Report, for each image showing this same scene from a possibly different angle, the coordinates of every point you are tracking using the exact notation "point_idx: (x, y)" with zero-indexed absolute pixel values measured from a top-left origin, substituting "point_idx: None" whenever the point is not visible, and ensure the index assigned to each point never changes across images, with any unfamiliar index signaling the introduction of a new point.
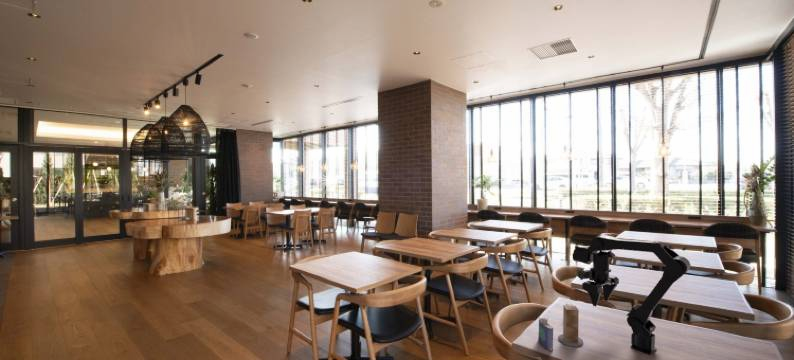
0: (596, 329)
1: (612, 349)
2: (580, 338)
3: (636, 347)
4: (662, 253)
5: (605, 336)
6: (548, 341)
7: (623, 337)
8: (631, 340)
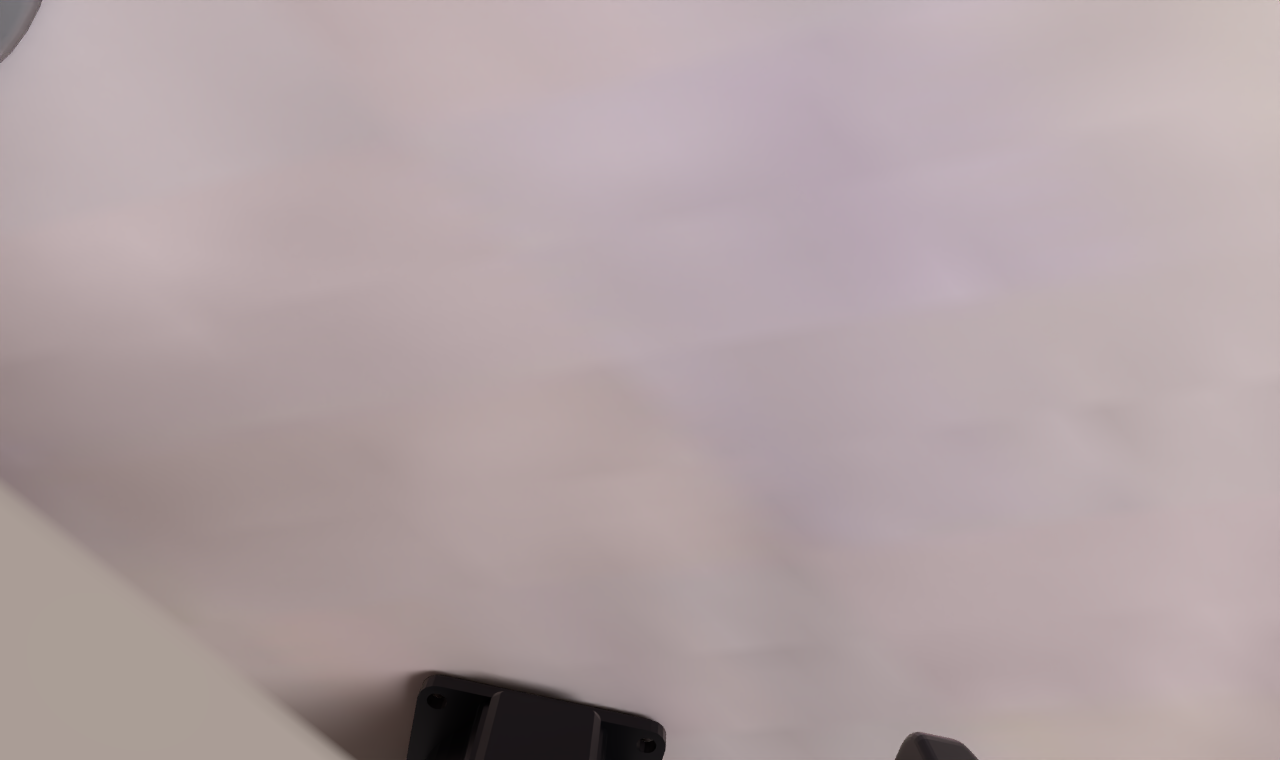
0: (755, 142)
1: (166, 502)
2: (15, 9)
3: (440, 742)
4: None
5: (550, 339)
6: None
7: (718, 559)
8: (486, 729)
